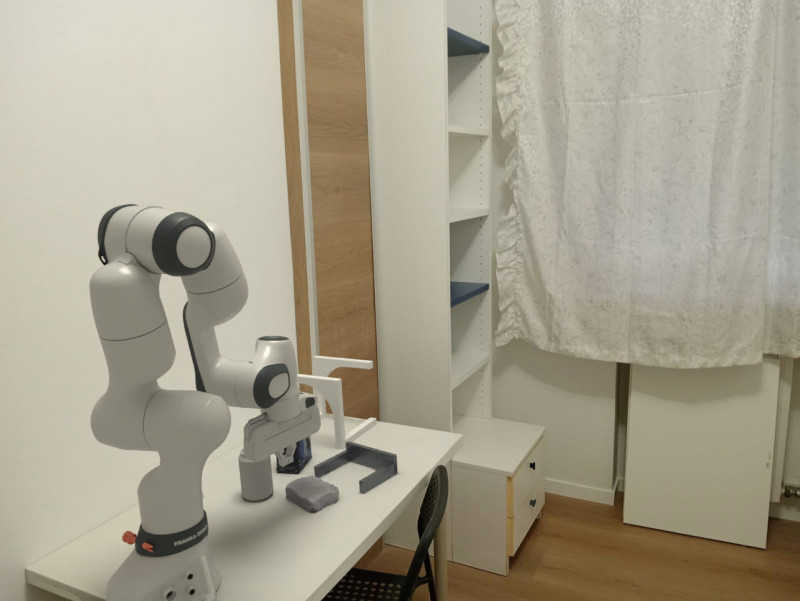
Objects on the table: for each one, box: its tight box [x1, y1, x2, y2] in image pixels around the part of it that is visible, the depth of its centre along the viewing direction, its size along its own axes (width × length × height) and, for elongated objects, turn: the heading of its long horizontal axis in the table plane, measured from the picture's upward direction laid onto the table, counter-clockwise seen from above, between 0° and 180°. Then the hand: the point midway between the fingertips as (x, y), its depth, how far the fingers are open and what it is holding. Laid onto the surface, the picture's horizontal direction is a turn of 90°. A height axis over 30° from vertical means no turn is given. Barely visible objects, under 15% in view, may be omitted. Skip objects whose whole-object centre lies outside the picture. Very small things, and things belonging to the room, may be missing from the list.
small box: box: [275, 435, 313, 475], centre depth 180 cm, size 11×6×10 cm, turn 168°
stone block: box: [284, 475, 340, 513], centre depth 161 cm, size 12×5×10 cm
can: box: [237, 447, 274, 502], centre depth 163 cm, size 8×8×12 cm
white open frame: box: [297, 355, 377, 450], centre depth 200 cm, size 20×20×20 cm
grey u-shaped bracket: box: [313, 441, 398, 494], centre depth 172 cm, size 13×16×5 cm
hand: (286, 463), depth 153 cm, fingers closed
